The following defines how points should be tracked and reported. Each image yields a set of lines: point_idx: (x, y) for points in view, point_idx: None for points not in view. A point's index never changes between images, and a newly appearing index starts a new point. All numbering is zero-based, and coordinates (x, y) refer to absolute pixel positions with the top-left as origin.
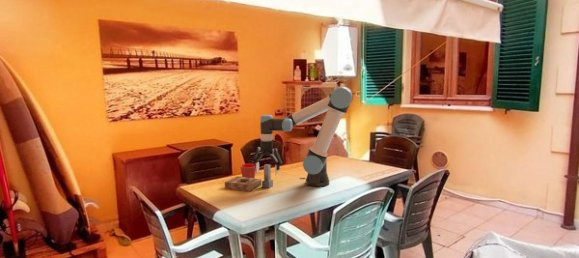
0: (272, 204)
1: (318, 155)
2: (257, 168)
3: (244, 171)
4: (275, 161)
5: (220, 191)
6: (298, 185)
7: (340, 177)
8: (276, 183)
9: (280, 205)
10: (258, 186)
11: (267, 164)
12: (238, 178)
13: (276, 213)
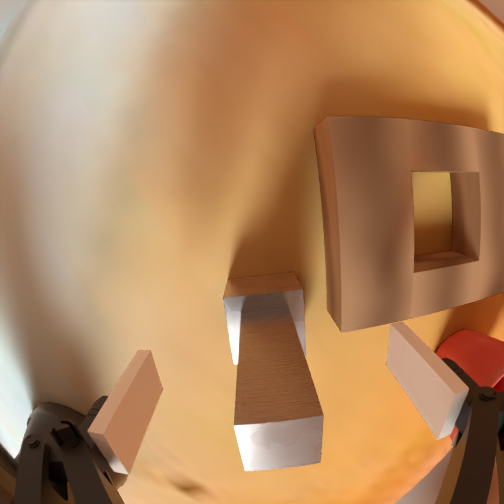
0: (50, 46)
1: None
2: (414, 362)
3: (500, 348)
4: (78, 478)
5: (460, 75)
6: None
7: None
8: None
9: (19, 67)
10: (326, 267)
11: (291, 461)
12: (492, 250)
13: (17, 10)
